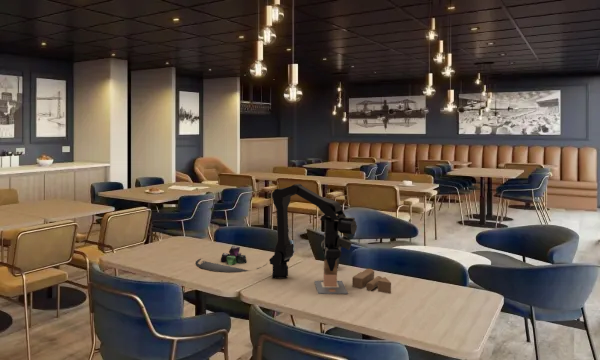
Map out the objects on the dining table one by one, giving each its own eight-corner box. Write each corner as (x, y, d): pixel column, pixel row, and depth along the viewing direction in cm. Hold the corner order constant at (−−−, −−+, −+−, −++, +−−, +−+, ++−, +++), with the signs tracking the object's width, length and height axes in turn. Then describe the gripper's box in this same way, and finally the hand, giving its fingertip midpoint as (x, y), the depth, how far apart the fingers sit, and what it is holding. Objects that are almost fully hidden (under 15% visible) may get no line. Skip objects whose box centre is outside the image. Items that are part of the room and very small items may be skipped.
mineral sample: (280, 266, 244) (280, 247, 244) (213, 276, 225) (213, 255, 224) (246, 255, 273) (246, 238, 273) (184, 263, 253) (183, 245, 253)
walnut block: (325, 274, 211) (325, 262, 210) (323, 271, 216) (324, 259, 215) (337, 274, 211) (337, 263, 211) (335, 271, 216) (335, 259, 216)
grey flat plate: (318, 293, 204) (318, 292, 204) (314, 281, 220) (314, 280, 219) (347, 293, 204) (347, 292, 204) (342, 282, 220) (342, 280, 220)
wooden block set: (351, 275, 213) (366, 265, 229) (351, 288, 213) (366, 277, 229) (390, 281, 205) (403, 270, 221) (389, 294, 205) (403, 283, 221)
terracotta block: (324, 286, 211) (325, 274, 211) (323, 282, 216) (323, 271, 216) (336, 286, 212) (336, 274, 211) (335, 282, 217) (335, 271, 216)
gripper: (354, 236, 203) (353, 274, 204) (347, 227, 221) (346, 262, 223) (326, 236, 202) (325, 274, 204) (321, 227, 221) (320, 262, 222)
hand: (330, 268), depth 213 cm, fingers open, 8 cm apart
